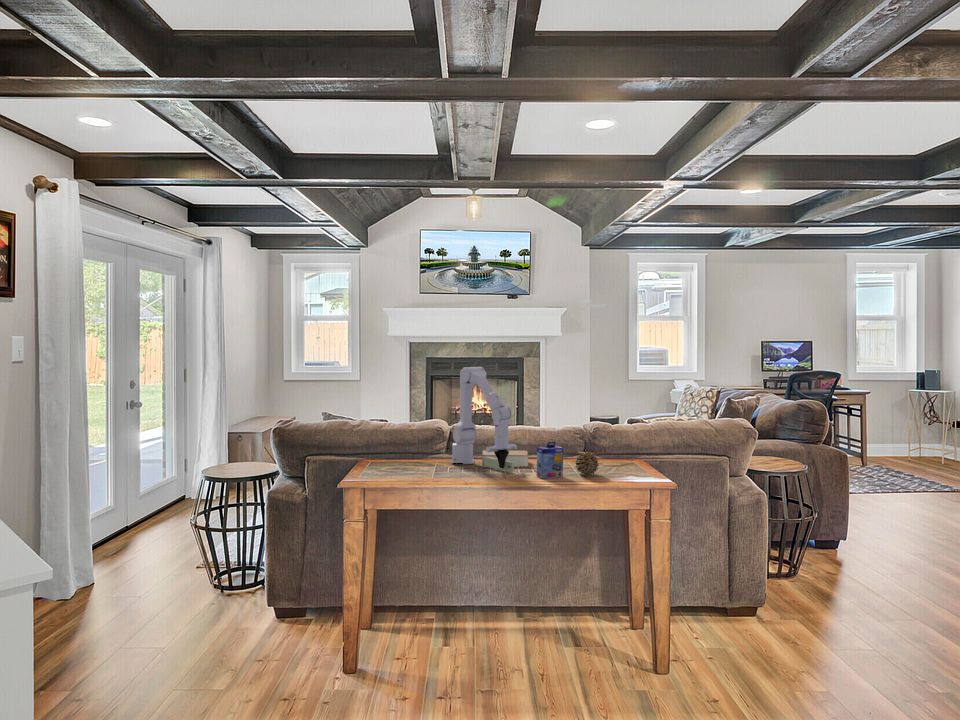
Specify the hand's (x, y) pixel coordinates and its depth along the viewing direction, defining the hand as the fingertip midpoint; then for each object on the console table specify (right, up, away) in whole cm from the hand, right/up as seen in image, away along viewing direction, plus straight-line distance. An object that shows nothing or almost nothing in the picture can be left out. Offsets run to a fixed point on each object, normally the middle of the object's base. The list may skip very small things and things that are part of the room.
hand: (501, 467), depth 278 cm
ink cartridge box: (+19, -2, -11) cm, 22 cm away
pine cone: (+34, -2, -4) cm, 35 cm away
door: (-2, -1, +4) cm, 5 cm away
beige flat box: (+2, -1, +17) cm, 17 cm away
